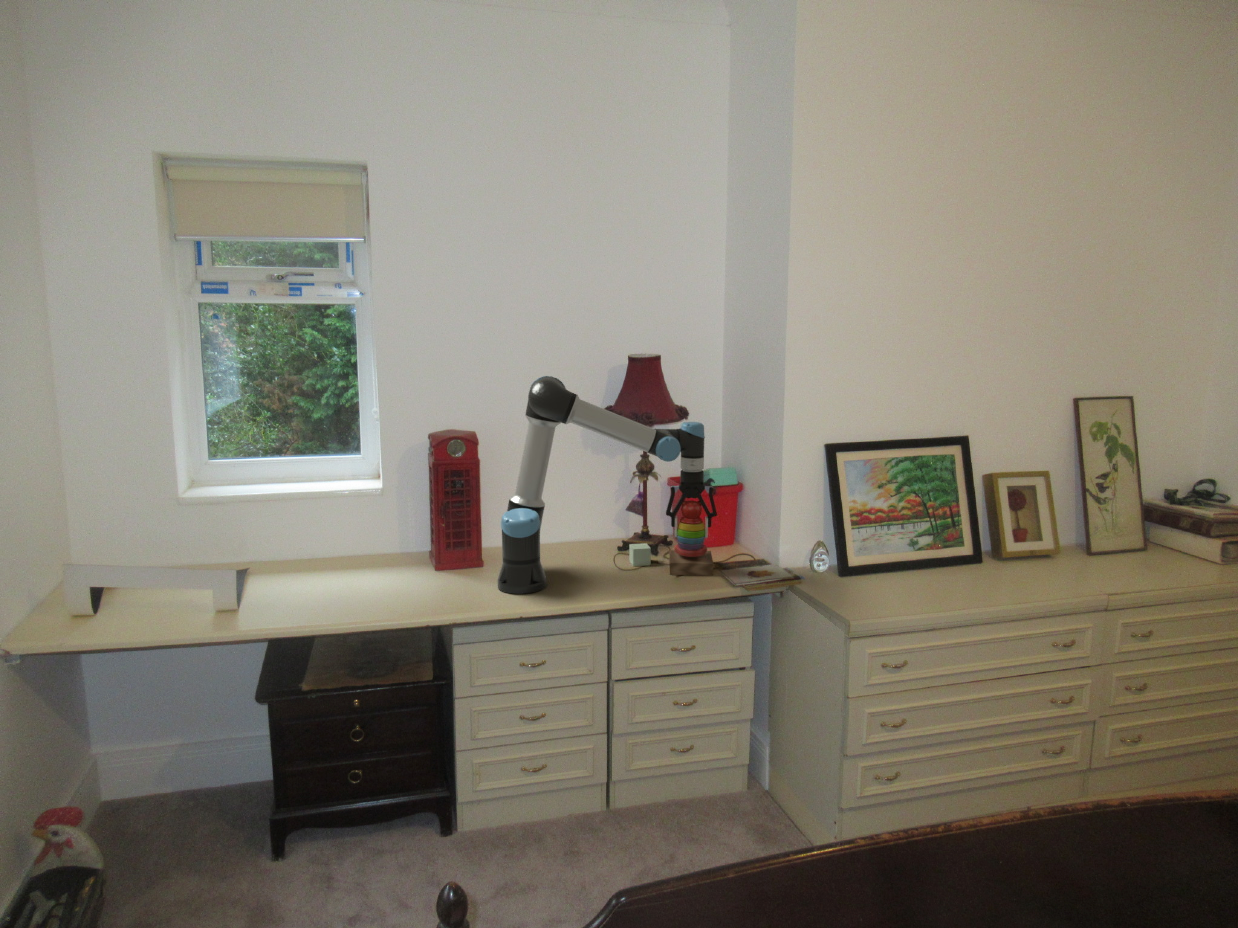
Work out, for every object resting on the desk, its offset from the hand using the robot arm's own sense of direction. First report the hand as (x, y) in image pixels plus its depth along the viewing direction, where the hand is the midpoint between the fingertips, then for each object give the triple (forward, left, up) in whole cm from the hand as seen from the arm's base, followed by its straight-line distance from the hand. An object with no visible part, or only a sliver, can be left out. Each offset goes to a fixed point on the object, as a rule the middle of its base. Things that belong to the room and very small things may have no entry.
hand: (690, 536), depth 265 cm
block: (-17, +5, -11) cm, 21 cm away
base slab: (0, 0, -11) cm, 11 cm away
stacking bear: (0, 0, -6) cm, 6 cm away
